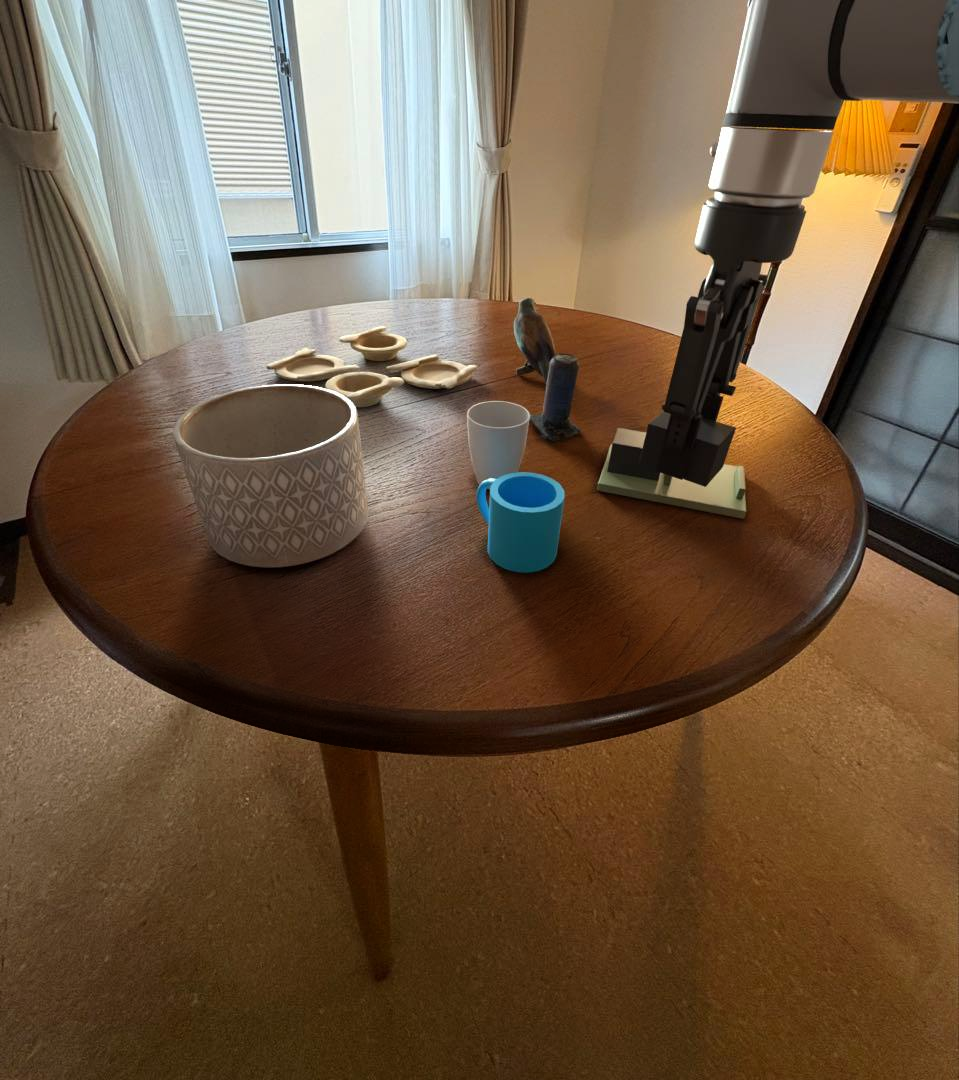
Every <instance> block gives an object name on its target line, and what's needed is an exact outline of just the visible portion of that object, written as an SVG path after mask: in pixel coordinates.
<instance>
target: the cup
mask: <svg viewBox="0 0 959 1080" xmlns="http://www.w3.org/2000/svg"><path fill="white" fill-rule="evenodd" d="M530 415H531V414H530V412H529V410H528V409H527V408H525V407H524V406H522V405H520V404H518V403H514V402H510V401H503V400H489V401H483V402H479V403H476V404H474V405H472V406H470V407H469V408H468V410H467V411H466V420H467V439H468V441H467V442H468V447H469V454H470V459H471V465H472V469H473V472H474V475H475V478H476V481H477V484H478V486H480V484H481V483H482V482H483V481H485V480H488V479H490V478H494V479H498V478H499V477H501V476H504V475H507V474H510V473H518V472H520V468H521V464H522V461H523V457H524V454H525V449H526V446H527V438H528V432H529V425H530V423H529V419H530ZM490 487H491V486H489V487H488V488H487V489H486V490H490Z"/></svg>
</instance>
